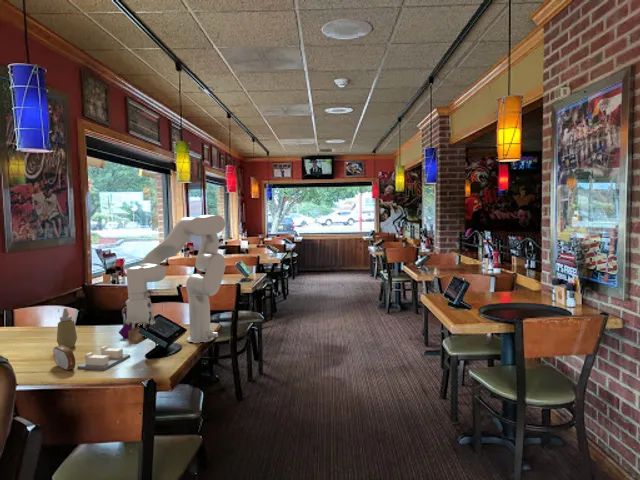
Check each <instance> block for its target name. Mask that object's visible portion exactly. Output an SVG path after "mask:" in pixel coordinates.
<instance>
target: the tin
mask: <svg viewBox="0 0 640 480" xmlns="http://www.w3.org/2000/svg"><path fill="white" fill-rule="evenodd" d="M53 359H54V362H55V364H56V366H57V367H59V368H61V369H62V370H64V371H70V370H74V369H75V368H76V358H75V354H74V352H73V350H72V348H68V347H65V346H63V345H60V346H59V345H57V346H54V348H53Z"/></svg>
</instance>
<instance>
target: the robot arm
mask: <svg viewBox="0 0 640 480" xmlns="http://www.w3.org/2000/svg"><path fill="white" fill-rule="evenodd" d="M225 227H226V220H225V218H224V217H223V216H221V215H219V214H202V215H199V216H197V217H195V216H192V217H189V216H188V217H187V216H186V217H182V218H180V219H179V220H178V221H177V223H176V224H175V225H174V227H173V228H172V230H170V232H169V233H168V235H167V236H166V238H165V239H164V240H163V241H162V242H160V243H159V244H158V245H156V246H155V247H154V248H153V249H151V250H150V251H149V252H148V253H147V254H146V256H145V257H143V259H142V260H141V262H140V263H139V265H138V266H132V267H128V268H127V269H126V273H125V274H126V285H127V286H126V287H127V294H128V295H127V297H128V299H127V300H126V301H127V305H126V307H127V320H126V319H125V323H126V324H128V325H129V326H130V327H131V328H132V329H134V328H136V327H138V326H139V324H141V325H142V324H143V328H145V329H146V330H147V329H148V328H150V327H151V325H153V324H154V325H155V324H156V319H155V317H154V316H155V315H154V308H153V304H152V302H151V301H152V300H151V297H150V296H151V293H150V292H149V291H148V283H156V282H157V283H158V282H161V281H162V280H164V279H165V277H166V276H167V269H166V267H164V266H163V265H161V263H163V262H164V261H165V260H167V259H168V258H170V257H173V256H175V255H177V254H179V253H181V251H182V250H183V248H184V247H185V245H186V244H187V243H188V241H189V240H190V239H191V237H194V236H195V237H198V236H199V237H200V246H199V249H198V252H197V256H196V259H195V268H196V270H198V271H200V272H204V273H205V274H202V273H194V274H191V275H190V276H189V277H188V278H187V279H186V283H185V288H186V293H187V298H188V318H189V336H188V337H187V338H186V342H187V341H188V342H187V343H189V342H193V343H192V344H201V343H200V342H204V343H208V342H211V341H213V340H214V339H215V338H218V337H219V333H218V332H219V331H217V332H215V331H213V328H211V306H210V305H211V304H210V297H211V296H215V295H216V294H217V293H218V292H219V289H220V288H221V286H222V285H221V284H222V282H223V278H224V274H225V271H226V266H227V264H226V258H225V257H224V256H223V254H221V253H219V252H218V251H219V246H220V239H219V236H218V234H219V233H221V232H222V231H224V230H225ZM149 322H150V323H149ZM125 323H124V324H125ZM143 339H144V341H146V340H148V339H147V337H145V336H143ZM145 339H146V340H145Z"/></svg>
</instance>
